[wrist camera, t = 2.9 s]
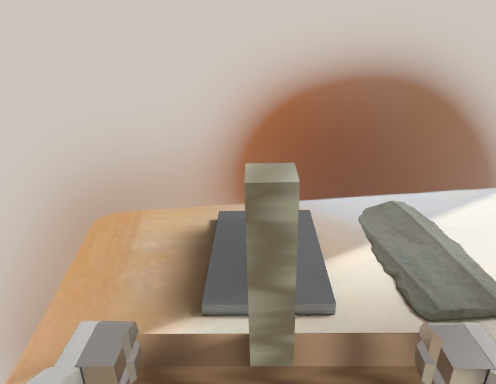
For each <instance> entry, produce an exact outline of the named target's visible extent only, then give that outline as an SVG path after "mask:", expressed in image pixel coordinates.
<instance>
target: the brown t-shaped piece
mask: <svg viewBox="0 0 496 384" xmlns="http://www.w3.org/2000/svg"><path fill="white" fill-rule="evenodd" d="M299 185H300V183H299V178H298V174H297V170H296V167H295V163H254V164H246V169H245V215H246V246H247V278H248V310H249V334H137V337H136V340H137V341H138V342H139V343H140V345H141V357H142V359H141V365H140V371H139V374H138V377H137V379H136V380H135V381H134V382H133V383H132V384H425V383H424V382H422V381H421V379H420V376H419V374H418V372H417V368H416V364H415V350H416V345H417V344H418V343H420V342H421V341H422V338H421V336H420V334H419V333H303V334H294V329H295V300H296V271H297V242H298V214H299Z"/></svg>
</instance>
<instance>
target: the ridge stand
mask: <svg viewBox="0 0 496 384" xmlns="http://www.w3.org/2000/svg"><path fill="white" fill-rule="evenodd" d="M201 305H202V315H249V310H248V278H247V246H246V215H245V211H219V215H218V220H217V225H216V230H215V236H214V241H213V246H212V252H211V257H210V262H209V267H208V273H207V278H206V283H205V289H204V294H203V299H202V304H201ZM335 308H336V302H335V299H334V295H333V292H332V288H331V284H330V281H329V277H328V274H327V270H326V267H325V263H324V260H323V256H322V252H321V249H320V245H319V242H318V238H317V235H316V231H315V227H314V224H313V220H312V217H311V213H310V210H299V214H298V242H297V271H296V300H295V314H335Z"/></svg>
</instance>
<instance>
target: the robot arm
mask: <svg viewBox="0 0 496 384" xmlns="http://www.w3.org/2000/svg"><path fill="white" fill-rule="evenodd" d="M137 334H138V328H137V323H135V322H123V321H82V322H81V323H80V324H79V325H78V326H77V328H76V330H75V331H74V333H73V335H72V336H71V338H70V340H69V342H68V343H67V345H66V347H65V348H64V350H63V352H62V353H61V355H60V357H59V358H58V360H57V362H56V364H55V365H54V367H48V368H46V369H45V370H43V371H42V372H40V373H39V374H38V375H36V376H35V377H33V378H32V379H30V380H29V381H28V382H26V383H25V384H132V383H133V382H134V381H135V380H136V379H137V377H138V374H139V371H140V365H141V359H142V357H141V345H140V343H139V342H138V341H137V340H136V337H137ZM419 334H420V336H421V338H422V341H421V342H420V343H418V344H417V345H416V350H415V364H416V368H417V372H418V374H419V376H420V379H421V381H422V382H424V383H425V384H496V342H495V340H494V339H493V338H492V337H491V335H490V334H489V333H488V331H487V330H486V329H485V327H484V326H483V325H482V324H480V323H479V322H464V323H423V324H422V326H421V328H420V332H419Z"/></svg>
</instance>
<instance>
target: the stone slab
mask: <svg viewBox="0 0 496 384" xmlns="http://www.w3.org/2000/svg"><path fill="white" fill-rule="evenodd" d="M358 220H359V223H360V224H361V226H362V228H363V230H364V232H365V235H366V237H367V239H368V240H369V241H370V242H371V243H372V245H373V246H372V248H371V250H372V252H373V253H374V254H375V255H376V257H377V260H378V262H379V263H380V264H381V265H382V266H383V267H384V271H385V272H386V273H388V274H390V275H392V276H394V277H395V279H396V281H397V288H398V289H399V290H400V291H401V293H402V294H403V296H404V297H405V299H406V300H407V302H408V303H409V304H410V305H411V306H412V307H413V309H414V310H415V311H416V312H417V313H418V314H419V315H421V316H422V317H424V318H425V319H428V320H431V321H445V320H455V319H465V318H479V317H494V316H496V281H495V280H494V279H493V278H492V277H491V276H489V275H488V274H487V273H486V272H485V271H484V270H483V269H482V268H481V267H480V265H479V264H477V263H476V262H475V261H474V260H473V259H472V258H471V257H470V256H468V254H467V253H466V252H465V250H464V249H463V248H462V247H461V246H460V244H458V243H457V242H455V241H453V240H452V239H450V238H449V237H448V236H446V235H445V234H444V233H443V231H442V230H441V229H440V228H439V227H438V226H437V225H436V224H435V223H434V222H432V221H430V220H429V219H427V218H426V217H425V216H423V214H421V213H420V212H418V211H417V210H416V209H415V208H413V207H411V206H408V205H406V204H405V203H403V202H396V201H389V202H386V203H383V204H380V205H377V206H373V207H370V208H366V209H365V210H364V211H363V214H362V215H360V216H359V219H358Z"/></svg>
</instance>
